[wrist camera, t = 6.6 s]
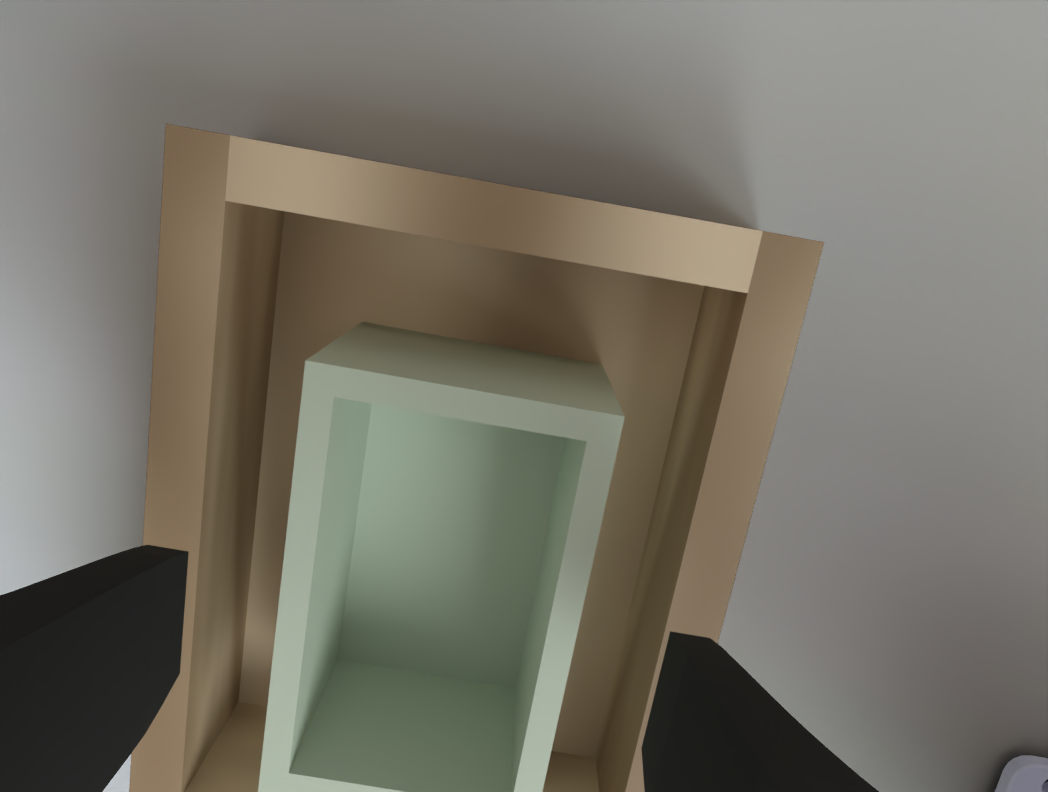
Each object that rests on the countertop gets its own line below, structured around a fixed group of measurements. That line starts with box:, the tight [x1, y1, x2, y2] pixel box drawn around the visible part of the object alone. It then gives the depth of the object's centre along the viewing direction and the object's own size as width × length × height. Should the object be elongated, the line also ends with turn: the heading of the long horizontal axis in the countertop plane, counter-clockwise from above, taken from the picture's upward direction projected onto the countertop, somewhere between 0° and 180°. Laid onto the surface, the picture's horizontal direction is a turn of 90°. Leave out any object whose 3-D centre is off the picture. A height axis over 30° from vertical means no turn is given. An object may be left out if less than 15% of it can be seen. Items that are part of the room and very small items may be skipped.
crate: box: [129, 124, 824, 792], centre depth 15 cm, size 10×14×4 cm
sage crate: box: [258, 322, 625, 792], centre depth 15 cm, size 5×8×4 cm, turn 170°
